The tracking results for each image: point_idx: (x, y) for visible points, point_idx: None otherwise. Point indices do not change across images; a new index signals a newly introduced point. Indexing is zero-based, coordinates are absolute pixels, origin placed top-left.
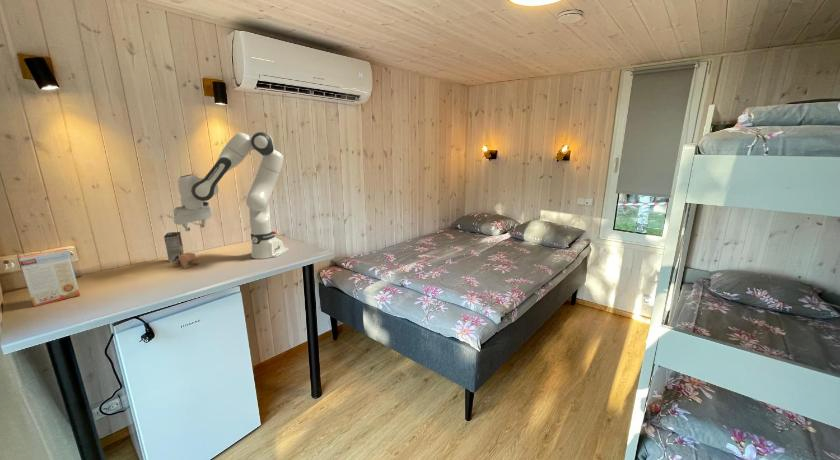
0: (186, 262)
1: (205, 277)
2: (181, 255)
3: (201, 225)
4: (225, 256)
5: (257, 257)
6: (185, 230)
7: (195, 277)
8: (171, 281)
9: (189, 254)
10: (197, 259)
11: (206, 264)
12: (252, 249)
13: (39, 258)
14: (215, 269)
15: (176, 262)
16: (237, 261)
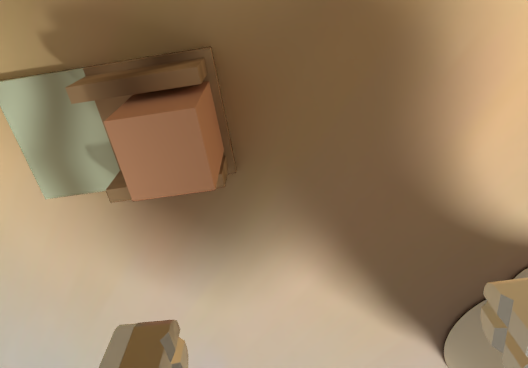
0: None
1: None
2: (116, 146)
3: (514, 338)
4: (451, 153)
5: (449, 361)
6: (116, 334)
7: (108, 329)
8: (5, 287)
9: (173, 181)
10: (224, 185)
11: (262, 198)
12: (495, 363)
13: None
14: (228, 313)
15: (94, 98)
16: (377, 302)
